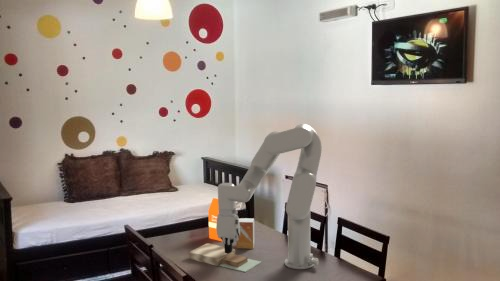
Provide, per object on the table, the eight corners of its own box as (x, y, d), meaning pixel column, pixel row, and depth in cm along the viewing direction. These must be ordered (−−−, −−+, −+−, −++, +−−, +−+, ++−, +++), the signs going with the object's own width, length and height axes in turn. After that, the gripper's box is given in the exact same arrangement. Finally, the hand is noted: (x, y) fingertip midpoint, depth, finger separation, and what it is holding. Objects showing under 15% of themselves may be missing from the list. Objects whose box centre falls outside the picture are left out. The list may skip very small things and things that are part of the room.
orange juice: (222, 241, 232) (221, 202, 229) (209, 238, 237) (207, 199, 234) (232, 237, 238) (231, 198, 235) (219, 233, 243) (217, 196, 241)
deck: (235, 256, 212) (235, 249, 212) (217, 265, 202) (217, 258, 201) (207, 249, 221) (207, 243, 221) (189, 258, 210) (189, 251, 210)
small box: (236, 248, 222) (235, 221, 220) (238, 244, 228) (237, 217, 226) (253, 248, 221) (253, 222, 219) (254, 244, 227) (254, 218, 225)
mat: (261, 262, 204) (261, 261, 204) (245, 272, 194) (245, 271, 194) (235, 256, 212) (235, 255, 212) (219, 265, 202) (219, 264, 202)
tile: (247, 261, 204) (247, 257, 204) (238, 267, 198) (238, 262, 198) (230, 257, 209) (230, 253, 209) (221, 263, 203) (221, 258, 203)
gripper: (246, 211, 202) (247, 252, 205) (218, 207, 211) (220, 246, 213) (236, 216, 196) (237, 258, 199) (208, 211, 205) (209, 252, 207)
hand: (228, 252), depth 206 cm, fingers closed
